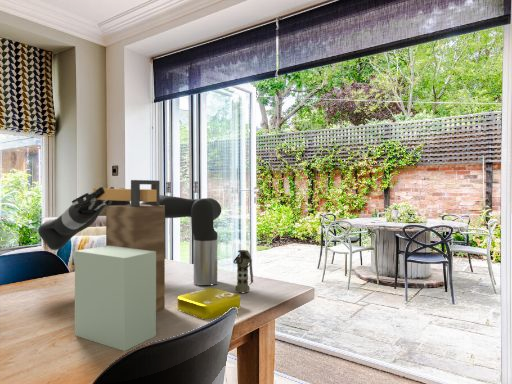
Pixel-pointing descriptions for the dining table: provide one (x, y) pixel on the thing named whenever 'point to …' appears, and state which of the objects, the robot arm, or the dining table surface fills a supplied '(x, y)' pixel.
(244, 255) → the olive stun grenade
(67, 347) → the dining table surface
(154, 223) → the walnut post
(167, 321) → the dining table surface
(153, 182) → the dark gray square arch
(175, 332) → the dining table surface
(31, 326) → the dining table surface
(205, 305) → the element tile
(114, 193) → the bar
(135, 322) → the sage green upright block
